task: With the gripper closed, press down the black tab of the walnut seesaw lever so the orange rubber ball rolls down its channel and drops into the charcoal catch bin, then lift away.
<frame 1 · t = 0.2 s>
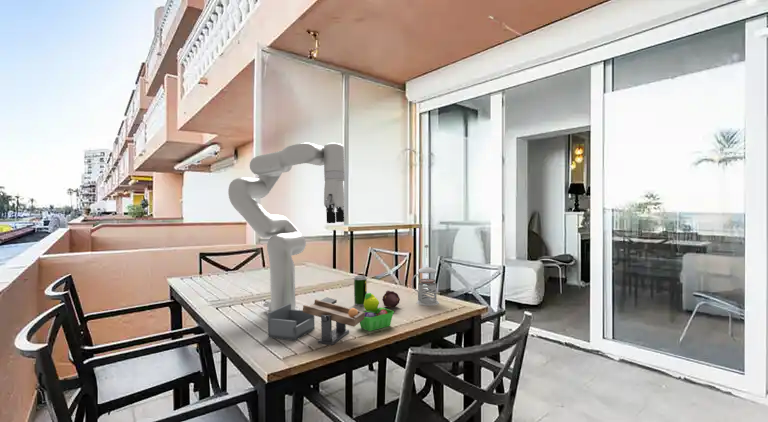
hand: (335, 222, 139), 36 cm above the table, tool pointing down, fingers open, 9 cm apart
beer can: (360, 304, 158), on the table
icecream: (391, 307, 153), on the table
fruit basket: (374, 327, 129), on the table
ball: (353, 313, 116), point 8 cm above the table, tilted 22°, touching lever
lever stand: (334, 337, 118), on the table
lever: (339, 308, 122), point 8 cm above the table, hinge at 10.0°, touching ball
french press: (425, 303, 159), on the table
catch bin: (292, 333, 123), on the table
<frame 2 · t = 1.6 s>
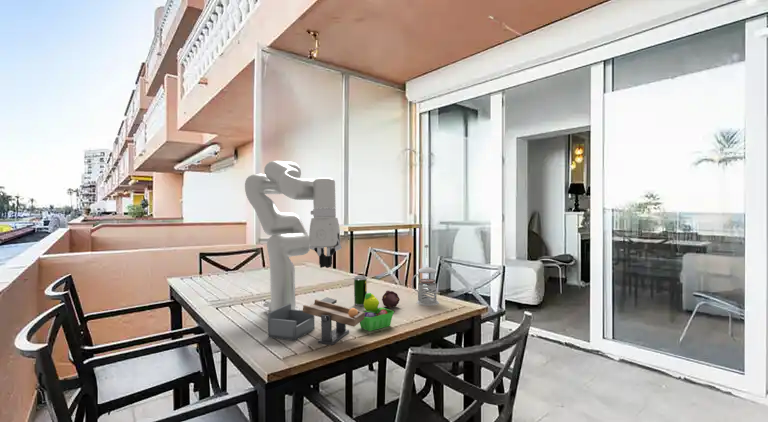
hand: (325, 266, 128), 21 cm above the table, tool pointing down, fingers closed
nothing on the table moved.
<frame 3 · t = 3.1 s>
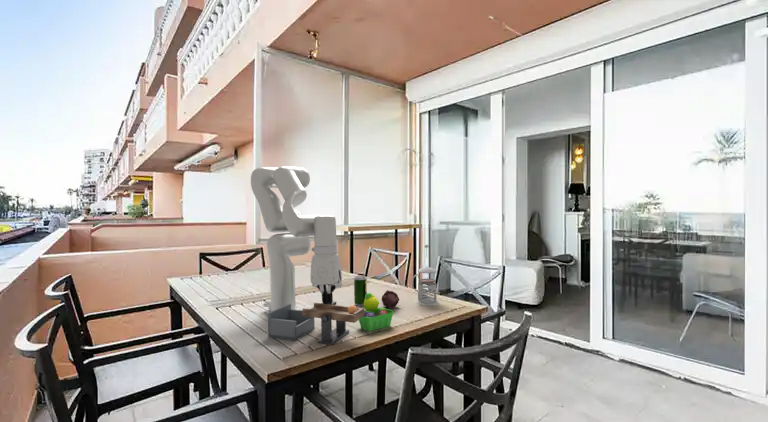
hand: (327, 304, 127), 8 cm above the table, tool pointing down, fingers closed
ball: (352, 310, 116), point 9 cm above the table, tilted 13°, touching lever
lever: (339, 308, 122), point 8 cm above the table, hinge at 2.0°, touching ball, gripper
everything else where it was.
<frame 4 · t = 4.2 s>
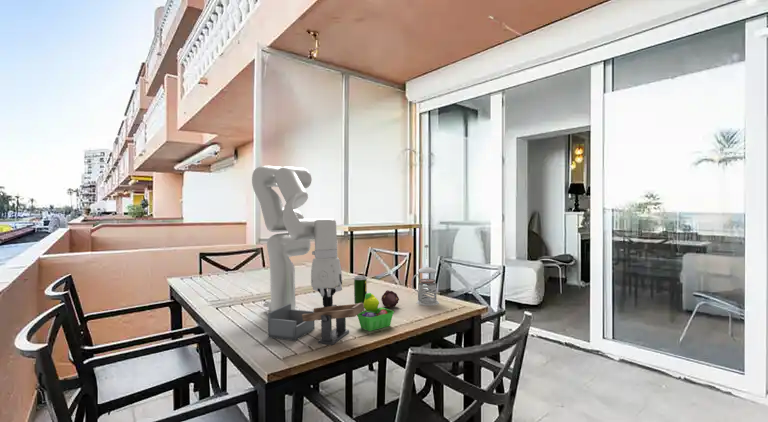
hand: (327, 307, 127), 7 cm above the table, tool pointing down, fingers closed
ball: (285, 324, 124), point 2 cm above the table, tilted 128°, touching catch bin
lever: (338, 308, 122), point 8 cm above the table, hinge at -9.3°, touching gripper
everything else where it was.
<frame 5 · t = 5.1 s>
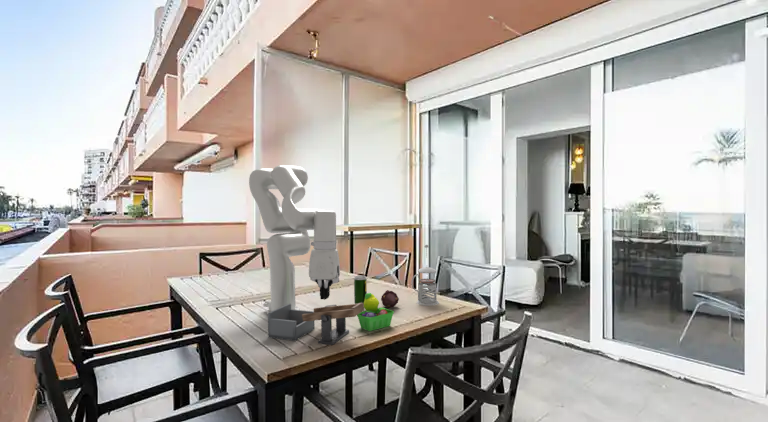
hand: (324, 298, 129), 10 cm above the table, tool pointing down, fingers closed
ball: (286, 325, 124), point 2 cm above the table, tilted 146°, touching catch bin
lever: (338, 308, 122), point 8 cm above the table, hinge at -9.3°
everything else where it was.
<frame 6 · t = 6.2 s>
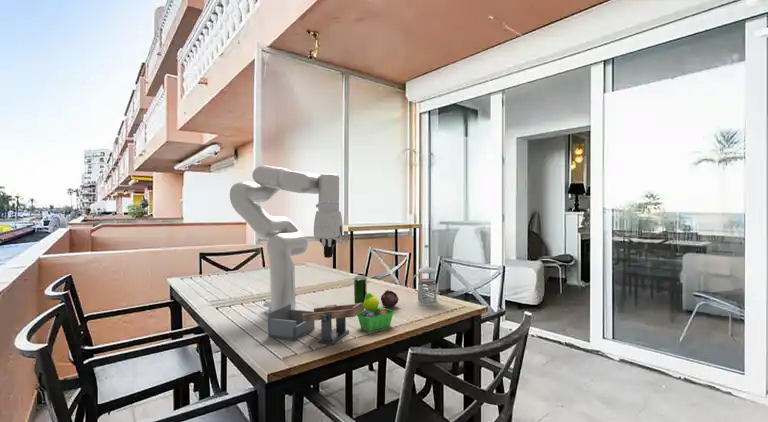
hand: (328, 257, 136), 23 cm above the table, tool pointing down, fingers closed
ball: (288, 325, 124), point 2 cm above the table, tilted 168°, touching catch bin
everything else where it was.
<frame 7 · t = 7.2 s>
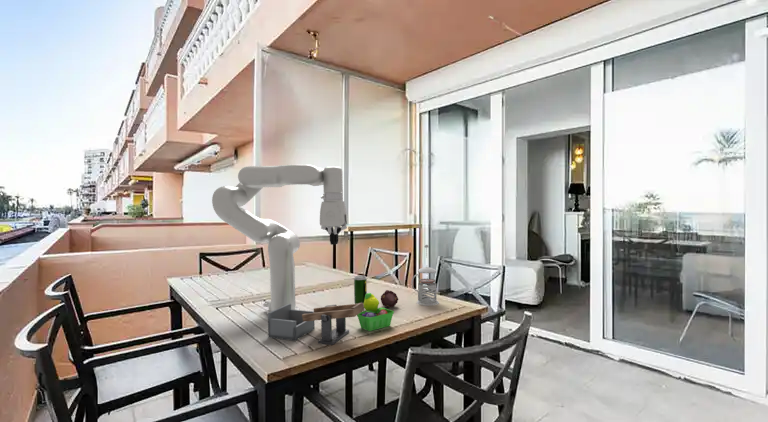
hand: (334, 244, 147), 27 cm above the table, tool pointing down, fingers closed
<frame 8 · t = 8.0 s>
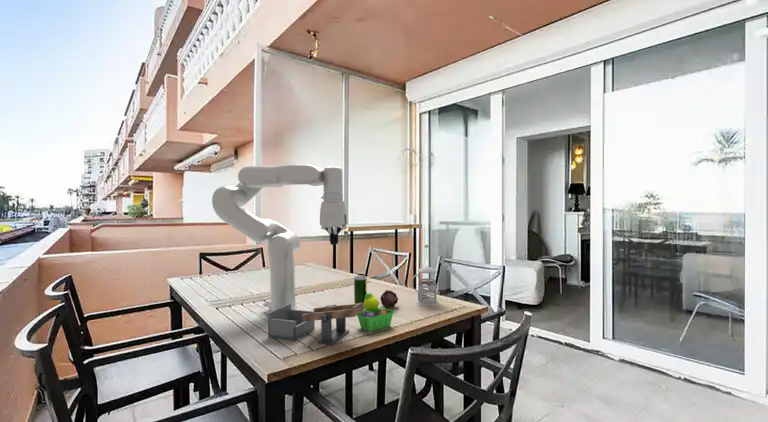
hand: (334, 244, 147), 27 cm above the table, tool pointing down, fingers closed
ball: (290, 325, 123), point 2 cm above the table, tilted 156°, touching catch bin
at the end: ball inside the target area on the catch bin (0.6 cm from its centre), point 2.5 cm above the catch bin's base; lever at -9° (first picture: +10°) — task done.
